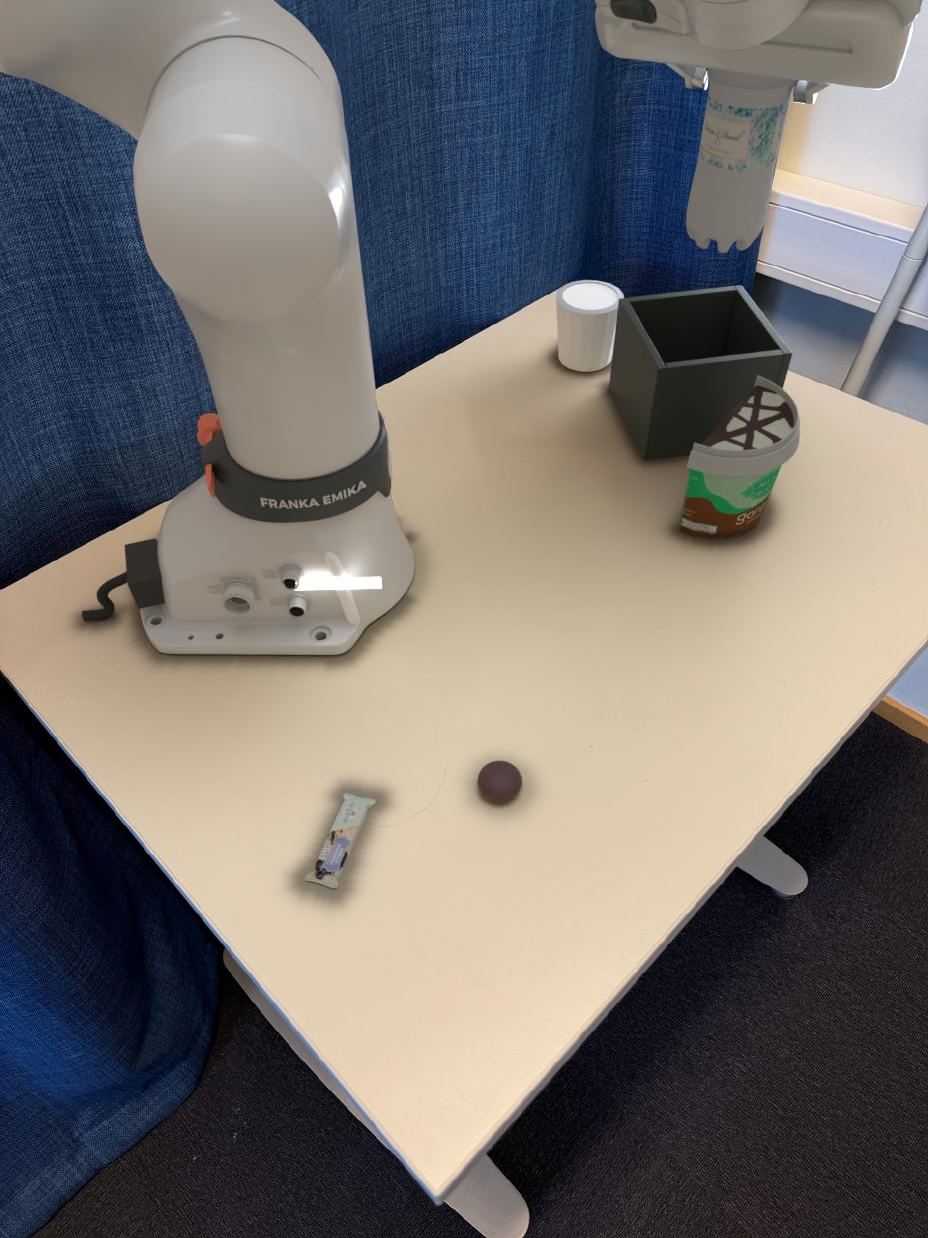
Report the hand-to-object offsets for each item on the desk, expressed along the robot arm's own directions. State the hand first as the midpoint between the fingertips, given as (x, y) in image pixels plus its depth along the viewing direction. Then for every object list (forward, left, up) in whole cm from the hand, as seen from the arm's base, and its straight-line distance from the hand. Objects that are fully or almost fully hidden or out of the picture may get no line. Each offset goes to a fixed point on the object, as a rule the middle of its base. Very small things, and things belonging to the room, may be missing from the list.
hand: (751, 86), depth 67 cm
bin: (0, 0, -29) cm, 29 cm away
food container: (0, -15, -30) cm, 33 cm away
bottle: (0, -1, -12) cm, 12 cm away
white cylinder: (-7, +12, -30) cm, 33 cm away
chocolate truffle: (-26, -38, -30) cm, 55 cm away
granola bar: (-37, -40, -30) cm, 62 cm away
